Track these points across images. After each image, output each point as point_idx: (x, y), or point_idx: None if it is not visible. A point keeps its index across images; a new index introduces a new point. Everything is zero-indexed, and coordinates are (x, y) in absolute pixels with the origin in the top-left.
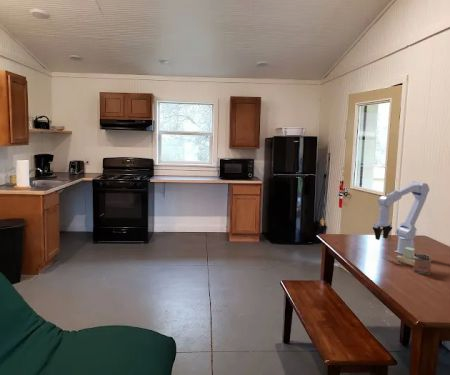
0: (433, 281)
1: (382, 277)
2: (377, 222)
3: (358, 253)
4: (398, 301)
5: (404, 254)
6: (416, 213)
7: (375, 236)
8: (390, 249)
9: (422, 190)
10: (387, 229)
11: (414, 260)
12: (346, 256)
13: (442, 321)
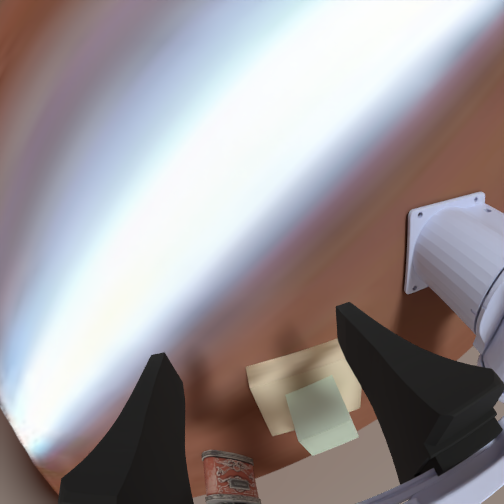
0: (203, 483)
1: (58, 451)
2: None
3: (51, 202)
4: (55, 488)
5: (291, 410)
6: None
7: (140, 382)
8: (434, 151)
9: None
10: (396, 443)
11: (290, 428)
12: None
13: None
